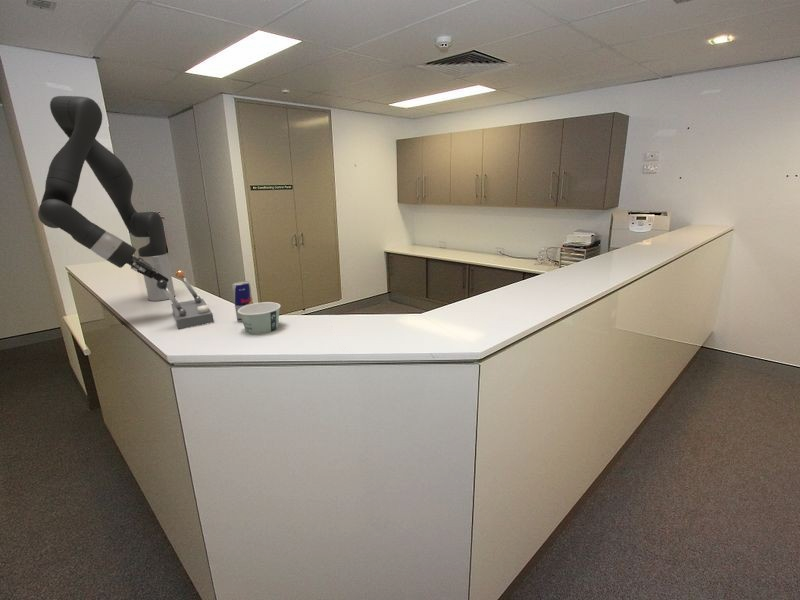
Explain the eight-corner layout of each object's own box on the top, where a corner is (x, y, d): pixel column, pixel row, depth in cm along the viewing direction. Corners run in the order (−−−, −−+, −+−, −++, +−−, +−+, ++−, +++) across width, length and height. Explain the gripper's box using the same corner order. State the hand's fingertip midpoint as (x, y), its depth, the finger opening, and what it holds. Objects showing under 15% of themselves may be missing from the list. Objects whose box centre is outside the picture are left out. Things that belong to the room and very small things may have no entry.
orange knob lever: (195, 302, 142) (173, 272, 136) (202, 298, 143) (181, 267, 137) (196, 304, 140) (173, 273, 134) (203, 300, 141) (182, 269, 135)
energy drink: (249, 322, 127) (243, 285, 124) (233, 322, 128) (227, 285, 125) (258, 317, 132) (253, 281, 129) (243, 316, 133) (237, 281, 130)
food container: (232, 332, 120) (228, 310, 118) (264, 320, 129) (261, 300, 128) (259, 338, 113) (256, 316, 112) (291, 325, 123) (289, 304, 121)
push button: (197, 311, 130) (196, 306, 130) (208, 309, 132) (207, 304, 132) (198, 313, 128) (197, 308, 127) (209, 311, 129) (209, 306, 129)
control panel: (172, 312, 142) (171, 303, 141) (204, 306, 147) (202, 298, 146) (178, 329, 124) (176, 319, 123) (213, 322, 129) (212, 313, 128)
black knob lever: (179, 315, 128) (154, 282, 122) (187, 311, 129) (163, 277, 123) (180, 318, 125) (154, 283, 120) (188, 313, 126) (163, 278, 121)
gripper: (121, 242, 120) (176, 276, 130) (122, 238, 131) (172, 269, 141) (103, 262, 119) (160, 295, 129) (106, 256, 130) (158, 287, 139)
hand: (166, 282), depth 135 cm, fingers closed
